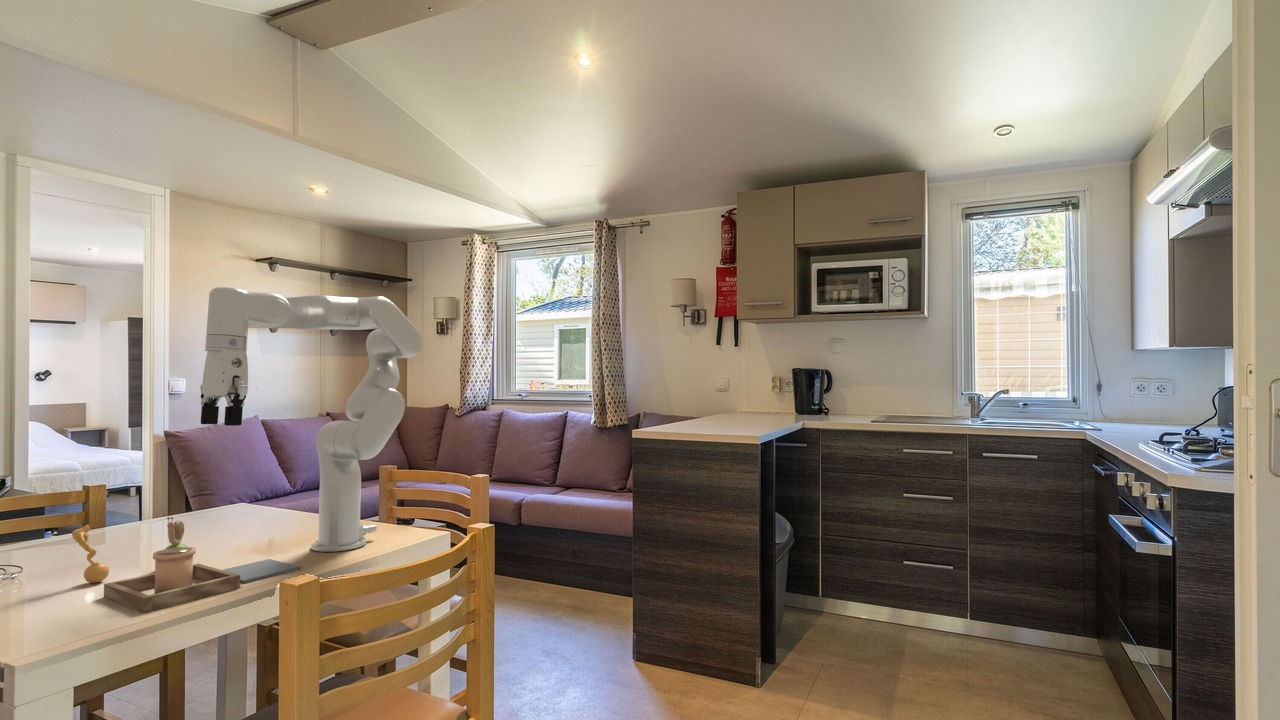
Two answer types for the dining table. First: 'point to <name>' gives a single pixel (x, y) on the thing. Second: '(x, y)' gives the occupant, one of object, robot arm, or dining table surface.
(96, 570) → the figurine
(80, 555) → the dining table surface
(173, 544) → the snail figurine
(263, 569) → the grey mat
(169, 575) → the terracotta pot
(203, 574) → the frame
